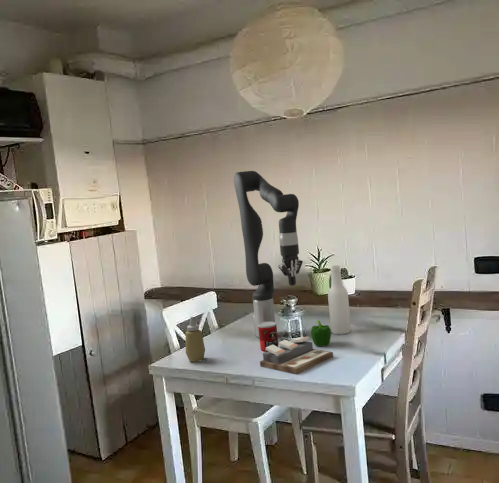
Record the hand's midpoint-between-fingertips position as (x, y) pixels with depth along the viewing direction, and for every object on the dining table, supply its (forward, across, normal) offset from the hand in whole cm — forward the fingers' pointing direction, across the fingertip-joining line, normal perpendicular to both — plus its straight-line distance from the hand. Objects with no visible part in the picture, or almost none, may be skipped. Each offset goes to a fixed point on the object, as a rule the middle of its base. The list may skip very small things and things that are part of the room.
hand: (292, 285), depth 233 cm
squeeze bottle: (+27, +32, -27) cm, 50 cm away
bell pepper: (+27, -8, +6) cm, 29 cm away
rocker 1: (+22, +21, +7) cm, 31 cm away
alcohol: (+27, -27, +2) cm, 38 cm away
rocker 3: (+22, +6, +7) cm, 24 cm away
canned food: (+27, +7, -10) cm, 29 cm away
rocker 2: (+22, +14, +7) cm, 27 cm away
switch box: (+26, +14, +11) cm, 32 cm away
